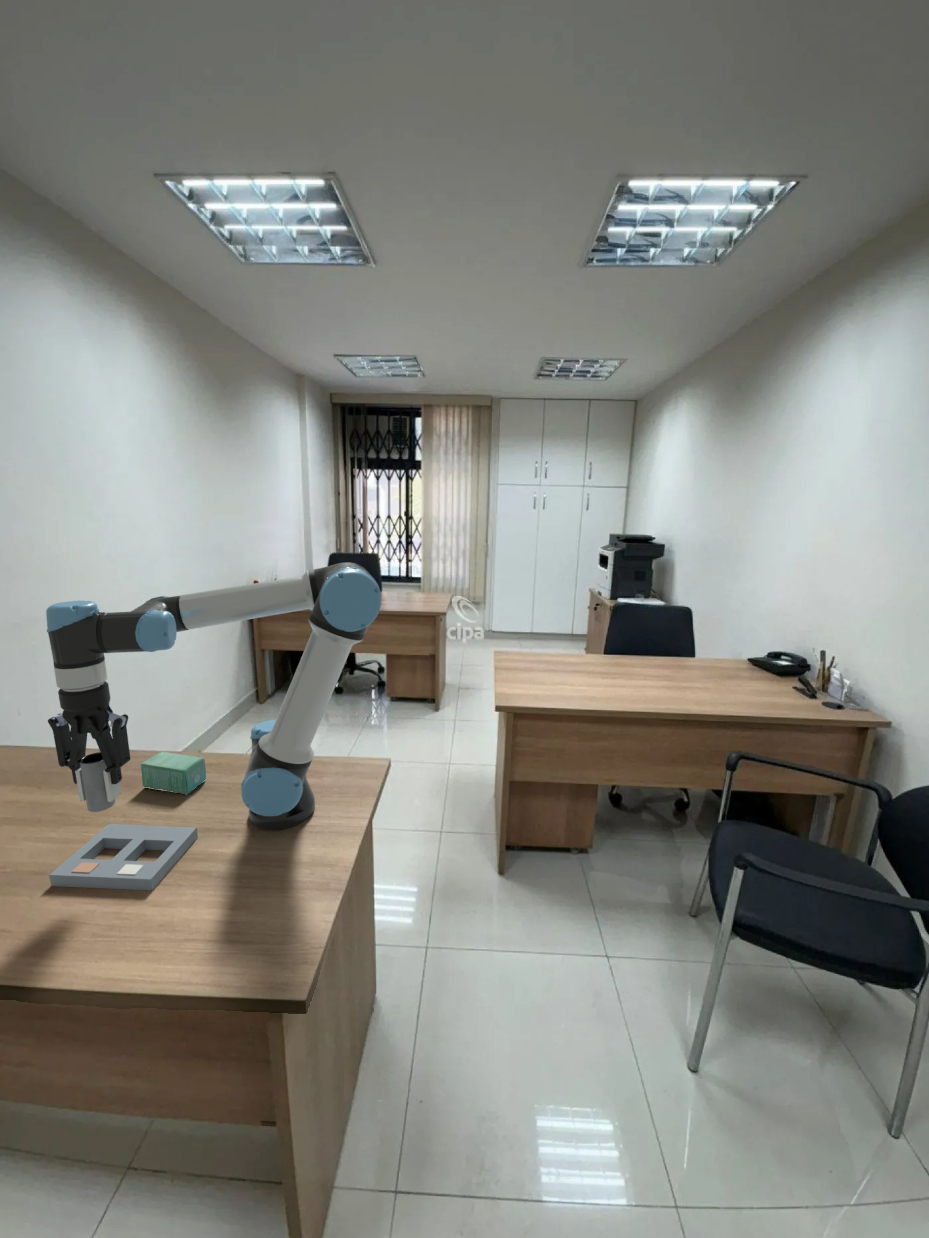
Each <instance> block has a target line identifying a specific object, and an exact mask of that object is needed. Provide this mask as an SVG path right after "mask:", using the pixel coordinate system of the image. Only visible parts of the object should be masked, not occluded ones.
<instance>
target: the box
mask: <svg viewBox="0 0 929 1238" xmlns="http://www.w3.org/2000/svg"><path fill="white" fill-rule="evenodd" d="M205 760H206V759H205V757H199V756H194V755H188V754H187V755H186V754H181V753H180V754H179V753H175V752H174V753H173V752H167V751H160V752H159V753H157V754H155V755H153V756H152V757H150V758H147V759H146V760H144V761H142V762H141V763H140V770H141V778H142V779H141V780H142V787H143V786H144V787H150V788H154V789H163V790H167V791H173V792H177V793H183V794H188V793H190V792H191V791H192V790H193V789H194V788H195V787H197V786H198V785H200V784H201V783H202V782H203V781H204V780H205V779H206V780H207V770H206V769H207V768H206V761H205ZM201 785H202V784H201ZM201 785H200V786H201ZM197 788H198V787H197ZM193 791H194V790H193ZM193 791H192V792H193ZM192 792H191V793H192ZM191 793H190V794H191ZM188 795H189V794H188Z"/></svg>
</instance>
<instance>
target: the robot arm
mask: <svg viewBox="0 0 929 1238" xmlns="http://www.w3.org/2000/svg"><path fill="white" fill-rule="evenodd" d="M381 606H382V593H381V589H380V586H379V583H378V582H377V581H376V579H375V578H374V577H373V576H372V575H371V573H370V571H368V570H367V568H365V567H363V566H362V565H360V564H358V563H355V562H347V561H346V562H339V563H335V564H331V565H329V566H325V567H321V568H314V569H307V570H306V571H305V572H304V574H303V575H301V576H294V577H287V578H282V579H280V578H279V579H275V580H274V579H273V580H269V581H262V582H261V581H260V582H256V583H255V582H254V583H250V584H243V585H237V586H230V587H224V588H218V589H212V590H211V589H210V590H206V591H200V592H194V593H193V592H192V593H186V594H181V595H175V596H167V595H161V596H155V597H152V598H150V599H149V600H146V601H145V602H144V603H143V604H141V605H139V606H138V607H136V608H135V609H133V610H131V611H119V612H117V611H116V612H105V611H104V612H103V611H100V609H99V608H98V607H99V606H98V604H97V603H96V601H95V602H94V601H91V600H71V601H63V602H62V601H61V602H58V603H54V604H51V605H50V606H48V608H46V611H45V613H46V614H45V615H46V617H45V618H46V627H47V629H46V633H47V634H48V639H49V645H50V650H51V656H52V660H53V670H54V677H55V684H56V688H58V689H59V690H58V691H57V695H58V700H59V705H60V708H61V709H62V710H63V711H62V713H61V712H60V713H57V714H55V715H54V716H52V717H51V718H48V719H47V723H48V725H49V727H50V728H51V730H52V734H53V740H54V746H55V750H56V755H57V760H58V765H59V766H60V767H62V768H65V767H67V768H68V769H70V771H71V774H72V775H71V776H72V779H73V780H72V781H73V783H74V784H75V785H77V792H78V797H79V802H86V797H85V791H84V785H83V779H82V773H81V766H80V760H81V759H82V758H83V757H85V756H86V750H87V740H88V734H90V736H91V738H92V739H93V740H94V741H95V743H96V745H97V746H98V750H99V752H101V755H102V757H103V759H104V762H105V764H106V767H107V769H105V770H104V771H103V774H104V781H105V787H106V794H107V801H108V802H112V801H113V800H114V799H115V800H116V799H117V798H118V797H119V796H120V795H121V794H122V793H121V787H120V782H121V781H122V779H123V774H122V767H123V766H124V765H126V764H127V763H128V762H130V761H131V752H130V744H129V743H130V742H129V737H128V730H127V724H128V721H129V715H128V714H126V713H124V714H122V715H121V714H120V715H119V714H116V713H114V712H113V709H112V708H111V706H110V701H111V693H110V686H109V685H110V684H109V682H107V680H108V673H107V666H106V660H105V659H106V657H105V654H115V653H118V654H119V653H136V652H137V653H140V652H142V653H143V652H145V653H147V652H148V653H155V652H158V651H167V650H169V649H172V648H173V647H174V646H175V643H176V640H177V633H178V632H184V631H189V630H194V629H202V628H206V627H212V626H218V625H224V624H230V623H234V622H235V623H236V622H241V621H247V620H252V619H258V618H265V617H271V616H275V615H281V614H282V615H283V614H287V613H293V612H298V611H305V610H310V611H311V613H310V615H309V617H308V624H309V625H310V627H311V629H312V631H311V633H310V635H309V638H308V641H307V642H306V646H305V648H304V650H303V653H302V656H301V657H300V660H299V663H298V665H297V667H296V670H295V672H294V675H293V678H292V680H291V682H290V684H289V687H288V689H287V692H286V695H285V697H284V699H283V701H282V704H281V706H280V709H279V711H278V714H277V716H276V718H275V719H269V720H265V721H262V722H259V723H257V724H255V725H254V726H253V727H252V729H251V730H250V739H251V751H250V752H251V753H250V757H249V760H248V764H247V767H246V771H245V773H244V774H245V775H244V779H243V780H242V782H241V789H240V790H241V799H242V802H243V803H244V806H246V808H247V809H248V817H249V821H250V823H251V824H252V825H253V826H255V827H257V828H259V829H262V830H268V831H269V830H270V831H271V830H272V831H275V830H276V831H277V830H282V829H288V828H291V827H293V826H296V825H298V824H299V825H300V824H302V822H304V821H306V820H307V819H308V818H310V817H311V815H313V813H314V811H315V809H316V808H315V807H316V800H315V795H314V792H313V790H312V788H311V786H310V783H309V782H308V779H307V774H308V771H309V768H310V766H311V764H312V762H313V759H314V757H315V753H314V750H313V747H312V746H311V745H312V743H313V741H314V738H315V736H316V733H317V731H318V728H319V727H320V726H319V725H320V724H321V722H322V718H323V717H324V714H325V712H326V710H327V707H328V704H329V702H330V700H331V697H332V695H333V692H334V690H335V688H336V687H337V686H336V685H337V683H338V680H339V679H340V676H341V674H342V670H343V669H344V667H345V664H346V662H347V659H348V657H349V655H350V652H351V650H352V647H353V646H354V645H356V644H359V643H361V642H363V640H364V638H365V636H366V633H367V631H368V628H369V626H370V625H371V624H372V623H373V622H374V621H375V619H376V618H377V617H378V616H379V613H380V610H381ZM109 722H110V723H109Z"/></svg>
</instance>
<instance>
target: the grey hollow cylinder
mask: <svg viewBox="0 0 929 1238" xmlns="http://www.w3.org/2000/svg"><path fill="white" fill-rule="evenodd" d="M80 766H81V773H82V779H83V785H84V791H85V797H86V800H85V802H86V808H87V811H89V812H92V813H96V812H97V813H98V812H102V811H103V812H104V811H105V810H108V809H109V808H112V807H113V806H115V804H116V798H115V799H114V800H113V801H112V802H108V801H107V794H106V787H105V781H104V774H103V771H104V770H105V769H107V767H106V764H105V762H104V759H103V757H102V755H101V752H100V751H99V752H94V753H90V754H87V755H85V757H83V758H82V759H81V760H80Z"/></svg>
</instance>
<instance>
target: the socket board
mask: <svg viewBox="0 0 929 1238" xmlns="http://www.w3.org/2000/svg"><path fill="white" fill-rule="evenodd" d="M197 828H198V827H196V826H195V827H191V826H169V825H168V826H166V825H147V824H146V825H143V824H122V823H121V824H119V823H109V824H106V826H105V827H104V828H102V829H101V830H100V831H99V832H98V833H97V834H95V835H94V836H93V837H92V838H91V839H89V840H88V841H87V842H86V843H85V844H83V845H82V847H80V848H78V850H77V851H76V852H74V853H73V854H72V855H70V857H68V858H67V859H66V860H65V861H63V863H61V864H60V865H59V866H58V867H56V869H54V870H53V871H52V872H51V873H49V876H48V877H49V881H50V886H51V887H63V888H64V887H66V888H68V887H69V888H85V889H86V888H91V889H112V890H129V891H131V890H132V891H133V890H134V891H153V890H154V889H156V887H157V886H158V884H160V882H162V880H163V879H164V878H165V876H167V874H168V873H169V872H170V871H171V869H172V868H173V867H174V866H175V865H176V864H177V863H178V861H179V860H180V859H181V858H182V857H183V855H184V854H185V853H186V851H188V849H189V848H190V847H191V846H192V845H193V843H195V841H197V839H198V838H199V835H198V829H197ZM104 849H115V850H116V849H119V852H118V853H117V854H116V855H115V856H113V858H112V859H96V857H97V856H98V855H99V854H100V853H101V852H102V851H103V850H104ZM145 851H163V852H162V854H161V855H159V857H158V858H157V859H156V860H155V861H144V860H143V861H142V860H138V859H139V857H141V855H143V854H144V852H145Z"/></svg>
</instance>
